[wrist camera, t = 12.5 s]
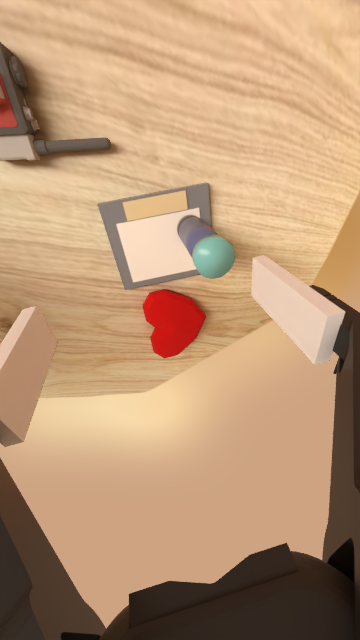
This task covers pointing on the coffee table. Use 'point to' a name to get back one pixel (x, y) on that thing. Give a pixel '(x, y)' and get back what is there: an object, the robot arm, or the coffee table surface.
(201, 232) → the marker
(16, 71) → the walkie-talkie
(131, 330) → the coffee table surface
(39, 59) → the coffee table surface
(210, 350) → the coffee table surface
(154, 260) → the clipboard
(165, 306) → the heart
